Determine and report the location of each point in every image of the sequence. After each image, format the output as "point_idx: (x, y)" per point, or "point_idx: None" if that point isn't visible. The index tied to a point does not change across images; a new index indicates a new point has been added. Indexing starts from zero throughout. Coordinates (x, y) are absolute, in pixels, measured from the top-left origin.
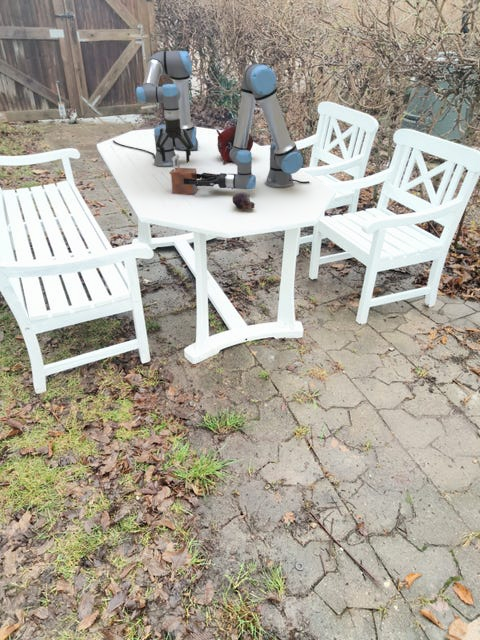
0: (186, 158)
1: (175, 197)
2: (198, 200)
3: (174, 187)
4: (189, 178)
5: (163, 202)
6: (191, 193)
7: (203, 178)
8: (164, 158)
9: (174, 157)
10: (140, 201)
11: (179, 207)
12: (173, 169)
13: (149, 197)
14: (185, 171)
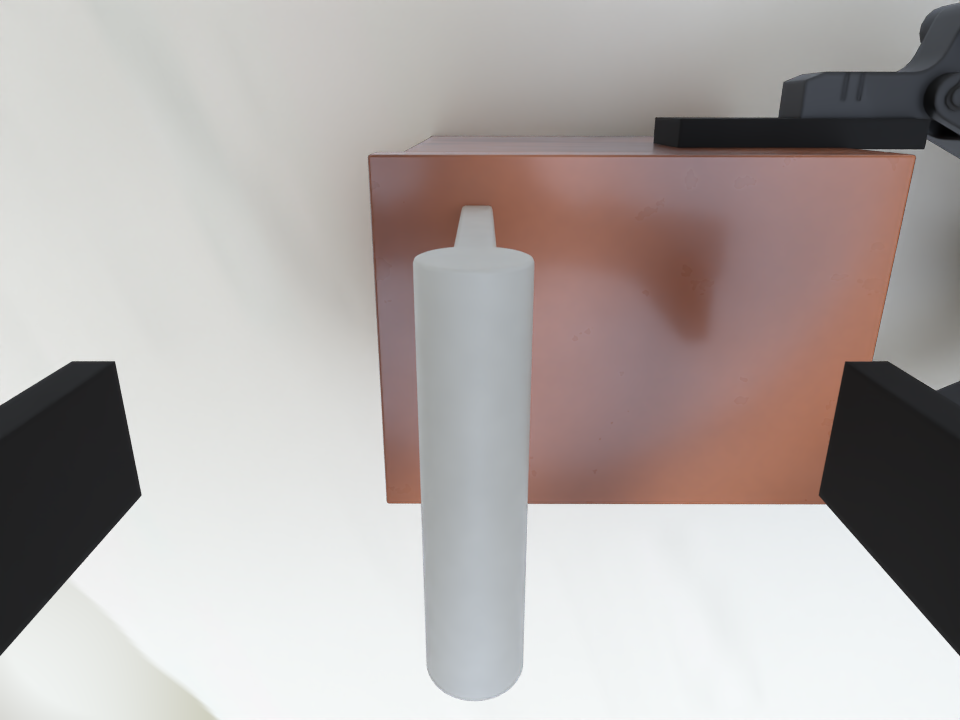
0: (885, 565)
1: None
2: (802, 517)
3: None
4: None
5: None
6: None
7: (936, 142)
8: (91, 458)
9: (498, 656)
10: (192, 637)
11: (640, 706)
12: (393, 321)
13: (222, 524)
14: (696, 413)
